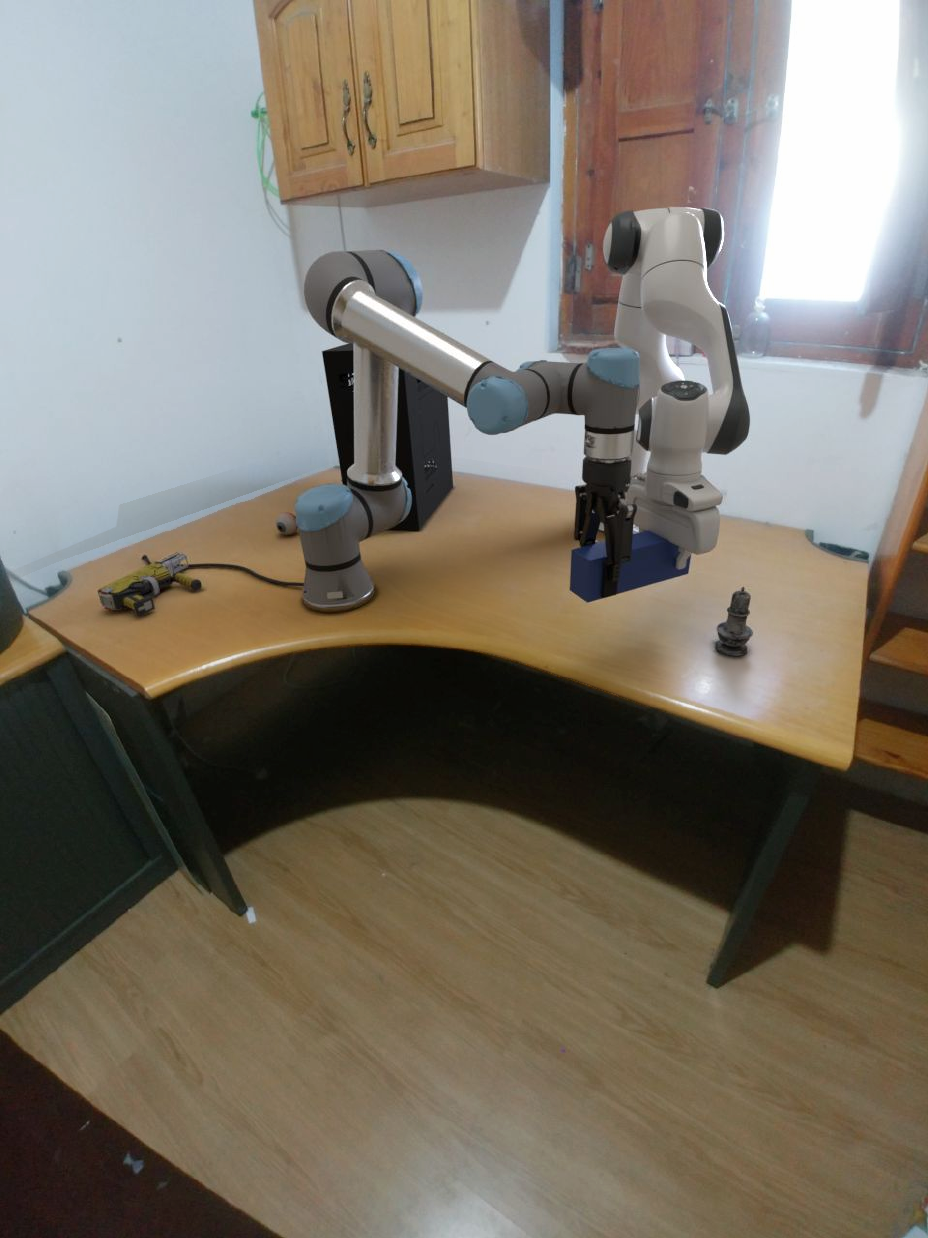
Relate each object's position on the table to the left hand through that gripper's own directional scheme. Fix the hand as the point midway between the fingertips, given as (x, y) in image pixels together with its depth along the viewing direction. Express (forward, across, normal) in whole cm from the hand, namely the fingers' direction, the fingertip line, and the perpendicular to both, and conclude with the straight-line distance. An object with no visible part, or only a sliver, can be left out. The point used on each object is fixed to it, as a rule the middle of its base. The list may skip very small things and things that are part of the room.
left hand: (598, 588), depth 106 cm
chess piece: (+11, +14, +19) cm, 26 cm away
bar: (+1, 0, +7) cm, 7 cm away
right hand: (-2, 0, +14) cm, 14 cm away
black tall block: (+11, -89, -5) cm, 90 cm away
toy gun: (+11, -64, -72) cm, 97 cm away
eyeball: (+11, -85, -40) cm, 95 cm away
